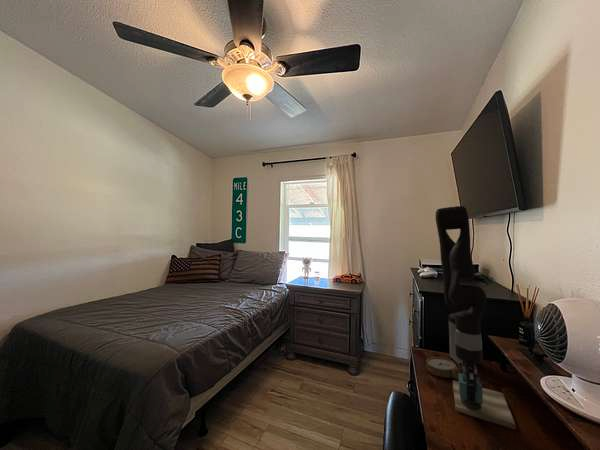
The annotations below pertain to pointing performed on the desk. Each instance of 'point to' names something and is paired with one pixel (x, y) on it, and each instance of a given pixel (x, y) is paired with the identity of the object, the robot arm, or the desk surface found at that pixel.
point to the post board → (485, 407)
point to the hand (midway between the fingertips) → (470, 394)
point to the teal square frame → (463, 385)
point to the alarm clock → (444, 367)
